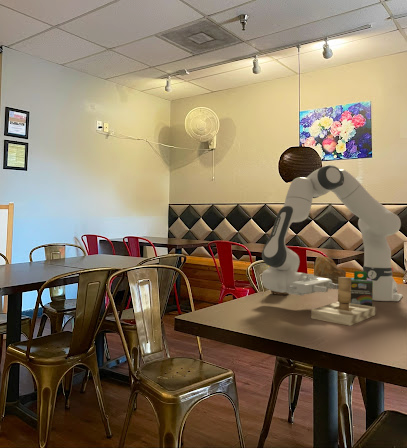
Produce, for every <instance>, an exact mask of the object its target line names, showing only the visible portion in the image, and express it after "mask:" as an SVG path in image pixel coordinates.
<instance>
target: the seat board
mask: <svg viewBox="0 0 407 448" xmlns="http://www.w3.org/2000/svg"><path fill="white" fill-rule="evenodd" d="M310 310H311V313H310V314H311V319H314V320H319V321H325V322H328V323H333V324H338V325H344V326H354V325H355V324H358V323H360V322H362V321H365V320H367V319H369V318H372V317H373V316H374V317H375V315H376V306H373V305H372V306H366V305H359V304H353V303H349V311H346V310H340V309H339V302H338V301H336V302H332V303H330V304H326V305H323V306H319V307H315V308H313V309H310Z"/></svg>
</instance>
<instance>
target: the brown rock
mask: <svg viewBox="0 0 407 448" xmlns="http://www.w3.org/2000/svg"><path fill="white" fill-rule="evenodd" d="M337 265H338V264H336V262H335V261H334V260H333V259H332V258H330V257H329V256H328V257H327V256H320V255H319V256H317V257H316V259H315V262H314V266H313V276H317V277H323V278H327V279H331V280H332V283H334V284H338V277H346V276H347V272H346V270H345V269H343V268H341V267H338V266H337Z"/></svg>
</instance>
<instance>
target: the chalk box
mask: <svg viewBox="0 0 407 448" xmlns="http://www.w3.org/2000/svg"><path fill="white" fill-rule="evenodd" d="M358 275H362V276H363V277H362V276H361V277H360V276H358ZM350 278H351V303H353V304H359V305H366V306H372V307H373V301H374V300H373V281H372V279H371V278H367V272H364V271H363V270H362V271H361V270H358V271H357V270H355V271H354V272H353V277H350Z"/></svg>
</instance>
